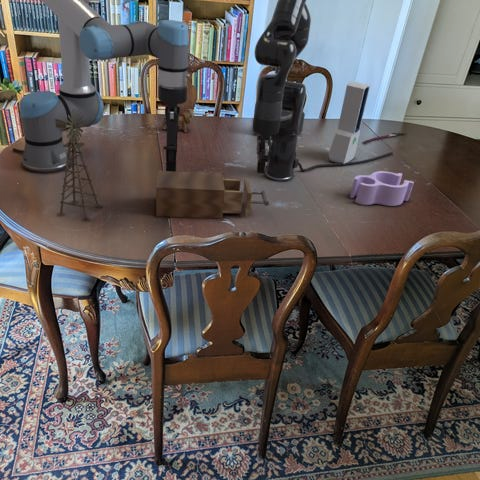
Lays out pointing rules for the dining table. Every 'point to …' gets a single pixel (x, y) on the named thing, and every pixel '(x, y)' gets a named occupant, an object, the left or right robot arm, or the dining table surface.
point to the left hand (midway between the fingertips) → (171, 160)
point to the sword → (383, 137)
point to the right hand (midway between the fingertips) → (260, 172)
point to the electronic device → (349, 123)
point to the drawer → (240, 196)
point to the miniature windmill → (73, 142)
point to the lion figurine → (182, 119)
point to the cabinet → (189, 194)
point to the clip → (381, 189)
